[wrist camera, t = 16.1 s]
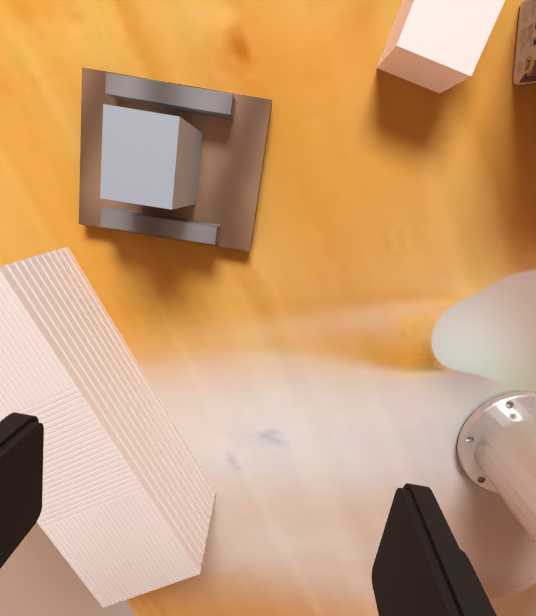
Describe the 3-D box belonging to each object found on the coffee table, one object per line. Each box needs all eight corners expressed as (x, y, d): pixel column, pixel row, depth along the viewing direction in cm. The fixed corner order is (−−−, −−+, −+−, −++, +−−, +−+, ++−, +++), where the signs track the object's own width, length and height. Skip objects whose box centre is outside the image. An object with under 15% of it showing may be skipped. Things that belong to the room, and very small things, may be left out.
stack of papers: (216, 491, 48) (199, 574, 38) (138, 520, 50) (102, 608, 39) (69, 246, 40) (-3, 267, 30) (-19, 289, 42) (-116, 324, 31)
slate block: (202, 133, 35) (179, 116, 27) (195, 203, 37) (171, 209, 28) (145, 124, 35) (103, 104, 26) (141, 195, 37) (100, 198, 28)
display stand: (271, 103, 36) (271, 93, 32) (250, 249, 40) (247, 255, 36) (90, 72, 35) (67, 58, 31) (86, 222, 39) (65, 226, 35)
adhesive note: (439, 94, 36) (471, 77, 30) (376, 68, 35) (396, 46, 29) (472, 18, 34) (512, -16, 28) (406, -10, 33) (433, -50, 28)
